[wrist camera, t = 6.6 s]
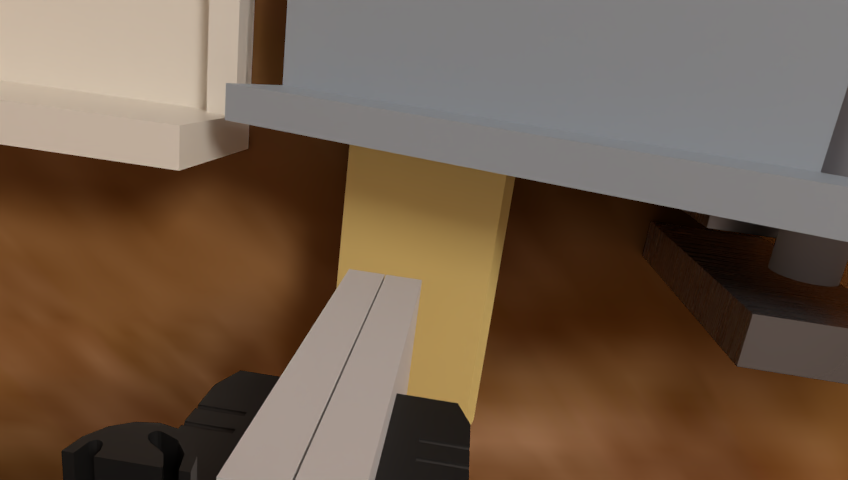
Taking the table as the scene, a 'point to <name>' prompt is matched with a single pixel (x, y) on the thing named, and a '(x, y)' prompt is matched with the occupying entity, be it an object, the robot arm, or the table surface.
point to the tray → (124, 78)
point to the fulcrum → (752, 298)
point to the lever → (560, 133)
